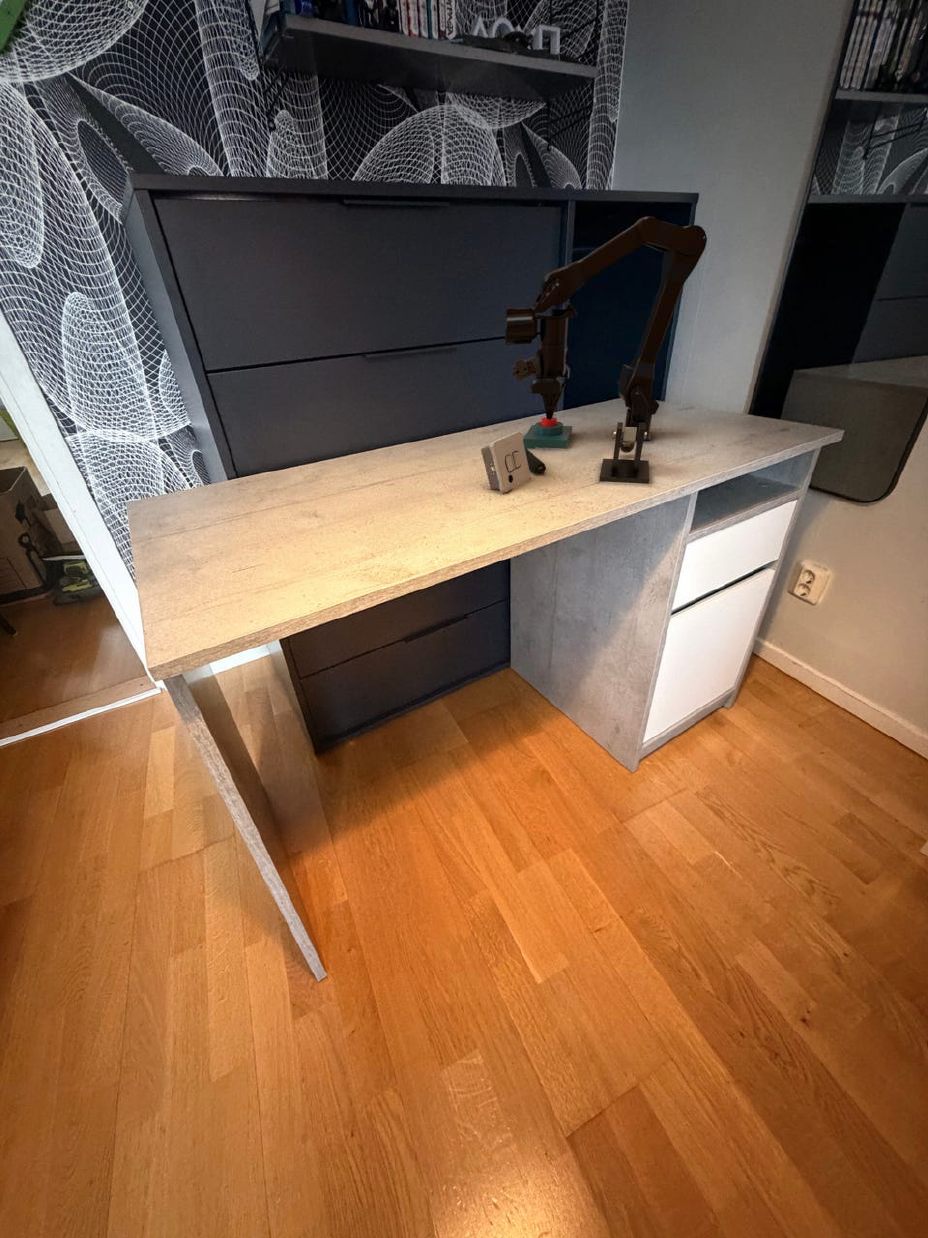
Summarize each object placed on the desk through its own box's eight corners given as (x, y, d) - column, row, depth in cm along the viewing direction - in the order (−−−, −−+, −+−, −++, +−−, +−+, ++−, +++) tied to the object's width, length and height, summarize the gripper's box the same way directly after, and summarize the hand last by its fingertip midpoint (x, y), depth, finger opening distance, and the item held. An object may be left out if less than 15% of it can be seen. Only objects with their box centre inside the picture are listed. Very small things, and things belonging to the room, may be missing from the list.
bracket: (602, 464, 102) (607, 417, 97) (647, 466, 100) (655, 418, 95) (599, 482, 94) (604, 433, 89) (648, 485, 92) (657, 434, 86)
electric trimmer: (532, 479, 98) (533, 463, 96) (506, 455, 110) (506, 441, 108) (549, 476, 99) (550, 461, 97) (521, 453, 111) (522, 439, 109)
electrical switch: (504, 494, 92) (500, 443, 87) (482, 492, 95) (477, 442, 90) (531, 479, 97) (528, 431, 92) (509, 477, 100) (506, 430, 95)
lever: (618, 453, 105) (620, 438, 105) (633, 453, 104) (635, 439, 104) (620, 442, 92) (622, 425, 91) (637, 442, 91) (639, 425, 91)
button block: (531, 433, 123) (532, 417, 121) (571, 435, 120) (573, 418, 118) (522, 448, 114) (523, 430, 111) (566, 450, 111) (567, 431, 109)
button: (542, 424, 117) (542, 416, 116) (557, 424, 116) (557, 417, 115) (539, 428, 114) (540, 420, 113) (555, 428, 113) (555, 421, 112)
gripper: (523, 337, 114) (522, 408, 123) (506, 349, 100) (506, 429, 109) (572, 336, 111) (567, 409, 120) (561, 348, 97) (557, 430, 106)
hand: (549, 418), depth 114 cm, fingers closed, pressing on button
